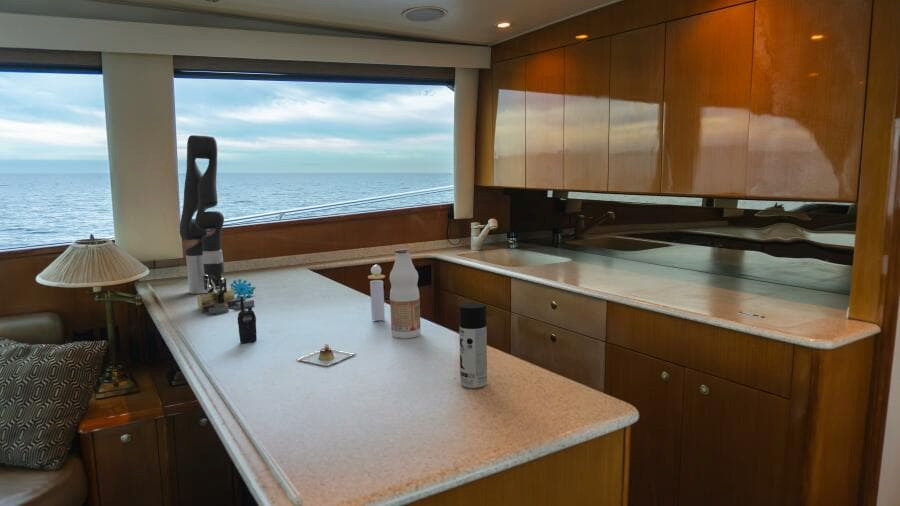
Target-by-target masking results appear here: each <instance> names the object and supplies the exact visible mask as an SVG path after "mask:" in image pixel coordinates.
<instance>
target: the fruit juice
mask: <svg viewBox="0 0 900 506" xmlns="http://www.w3.org/2000/svg"><path fill="white" fill-rule="evenodd" d="M394 253H395V256H396V257H395V259H394V264H393V267H392V269H391V271H390V273H389V282H390V290H389V302H390V306H389V307H390V329H391V331H390V332H391V335H392V337H393V338H395V339H405V340H406V339H414V338H416V337H419V336H420V335H421V330H422V329H421V307H420V306H421V305H420V291H419V290H420V289H419V287H418V282H419V273H418V271H417V269H416V268H415V266H414V264H413V260H412V257H411V253H412V249H411V248H404V247H403V248H402V247H401V248H400V247H399V248H396V249H395V250H394Z"/></svg>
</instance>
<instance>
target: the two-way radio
mask: <svg viewBox="0 0 900 506" xmlns="http://www.w3.org/2000/svg"><path fill="white" fill-rule="evenodd" d="M243 296H244V295H243ZM243 296H242V295H241V296H240V298H239V299H240V304H241V309H240V311H239V312H238V314H237V327H238V334H239V335H238V336H239V342H240V343H241V344H245V343H246V344H247V343H253V342H254V343H255V342H256V341H257V317H256V314H255V312H254V310H253V307H248V308H247V309H246V310H245V309H244V303H243Z"/></svg>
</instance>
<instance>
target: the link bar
mask: <svg viewBox="0 0 900 506" xmlns="http://www.w3.org/2000/svg"><path fill="white" fill-rule="evenodd" d="M196 297H197V298H196V300H197V309H198V310H199V309H200V311H201V306H205V305H210V304H215V303H218V293H217V291H216V290H215V291H214V292H210V293H208V292H207V293H201V294H196ZM230 300H235V295H234V290H233V289H230V288H228V289H227V292H226V293H224V303H221V304H220V306H224V305H228V302H227V301H230Z"/></svg>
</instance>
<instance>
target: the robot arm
mask: <svg viewBox="0 0 900 506" xmlns="http://www.w3.org/2000/svg"><path fill="white" fill-rule="evenodd" d="M197 159H199V160H200V159H201V160H202V159H203V160H208V166H207V168H206V170H205V171H204V173H202V171H201V170H200V168H199V166H198V165H197V162H196V160H197ZM185 170H186V172H185V179H184V189H183V202H182V203H183V205H182V206H183V207H182V213H181V217H180V223H179V234H180V238H181V239H182V240H184V241H193V240H197V242H196V243H194V244H193V245H192V246H188V247H187V248H186V249H185V259H186V270H187V282H188V292H189V294H191V295H192V294H193V295H200V294H205V293H210V292H216V291H217V293H218V303H220V304H221V303H224V293H226V292H227V287H228V286H227V278H226V277H222V274H224V272H225V268H224V267H225V266H224V256H223V251H222V249H223V248H222V231H223V228H224V222H225V217H224V214H223V213H222V212H221V211H219V210H214V211H206V210H208V209H212V208H214V207H216V206H217V205H218V202H219V201H218V193H217V191H218V190H217V174H218V173H217V172H218V142H217V140H216V138H215V137H214V136H210V135H196V134H195V135H194V134H193V135H190V136H188V138H187V143H186V169H185ZM195 214H196V215H195ZM194 215H195V218H194ZM208 230H214V232H213V233H210V234H208Z"/></svg>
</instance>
